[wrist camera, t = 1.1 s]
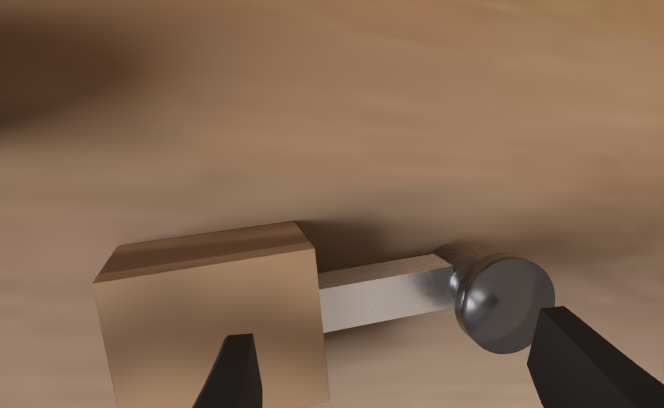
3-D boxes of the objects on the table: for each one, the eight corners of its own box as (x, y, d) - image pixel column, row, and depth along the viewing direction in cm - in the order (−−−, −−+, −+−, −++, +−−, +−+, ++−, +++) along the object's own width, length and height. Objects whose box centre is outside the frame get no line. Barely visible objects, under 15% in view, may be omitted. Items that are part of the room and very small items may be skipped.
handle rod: (484, 296, 26) (554, 343, 21) (134, 364, 22) (111, 443, 17) (482, 223, 25) (555, 252, 20) (118, 281, 21) (89, 336, 16)
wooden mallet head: (307, 346, 25) (330, 401, 20) (142, 379, 23) (125, 448, 19) (293, 220, 24) (314, 248, 19) (117, 246, 22) (92, 283, 17)
